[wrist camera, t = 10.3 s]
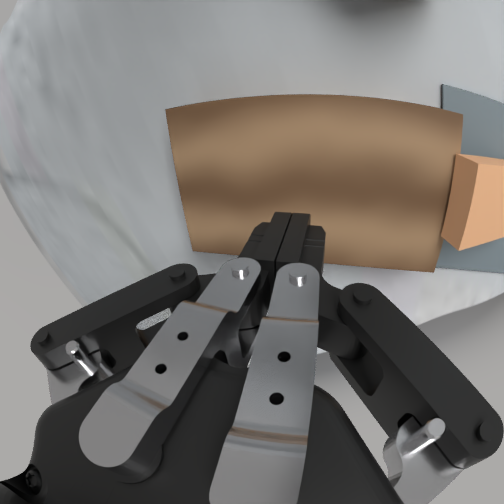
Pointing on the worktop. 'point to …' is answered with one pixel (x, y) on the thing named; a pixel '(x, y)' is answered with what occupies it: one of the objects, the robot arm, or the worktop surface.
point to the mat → (479, 144)
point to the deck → (319, 173)
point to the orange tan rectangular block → (475, 202)
